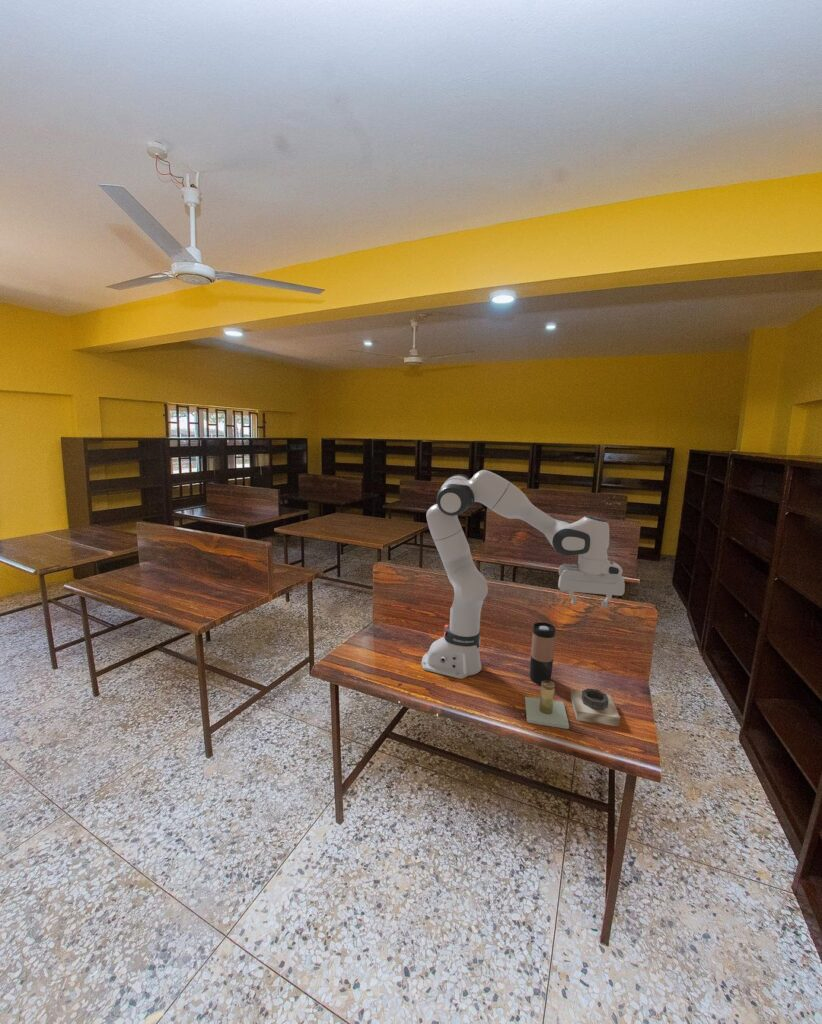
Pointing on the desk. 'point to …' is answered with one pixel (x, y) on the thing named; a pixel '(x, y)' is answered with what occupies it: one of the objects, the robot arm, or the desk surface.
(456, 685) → the desk surface
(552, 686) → the brass peg
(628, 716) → the desk surface
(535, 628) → the travel mug
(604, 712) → the beige base with ring
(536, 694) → the desk surface
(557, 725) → the sage pad
